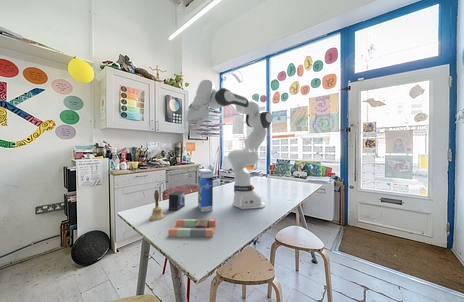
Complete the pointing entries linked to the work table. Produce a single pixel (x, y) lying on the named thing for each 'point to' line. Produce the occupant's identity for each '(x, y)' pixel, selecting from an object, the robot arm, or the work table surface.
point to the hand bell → (156, 209)
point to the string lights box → (205, 190)
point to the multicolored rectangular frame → (192, 232)
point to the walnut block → (202, 224)
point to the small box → (176, 200)
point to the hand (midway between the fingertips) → (193, 127)
